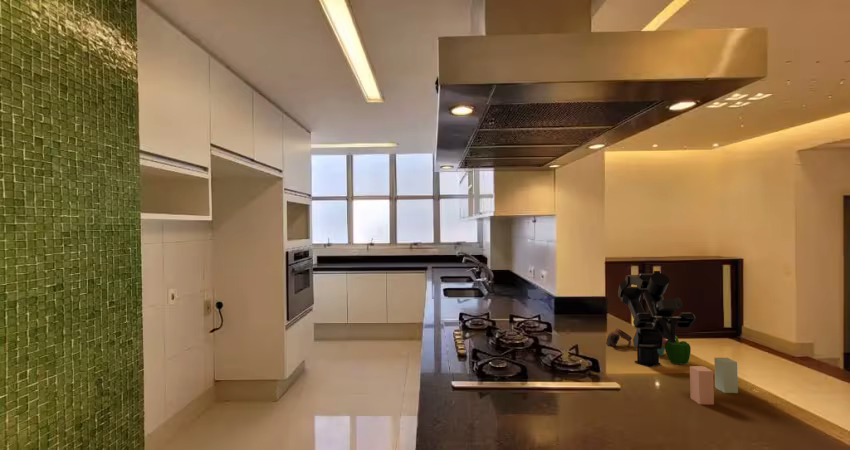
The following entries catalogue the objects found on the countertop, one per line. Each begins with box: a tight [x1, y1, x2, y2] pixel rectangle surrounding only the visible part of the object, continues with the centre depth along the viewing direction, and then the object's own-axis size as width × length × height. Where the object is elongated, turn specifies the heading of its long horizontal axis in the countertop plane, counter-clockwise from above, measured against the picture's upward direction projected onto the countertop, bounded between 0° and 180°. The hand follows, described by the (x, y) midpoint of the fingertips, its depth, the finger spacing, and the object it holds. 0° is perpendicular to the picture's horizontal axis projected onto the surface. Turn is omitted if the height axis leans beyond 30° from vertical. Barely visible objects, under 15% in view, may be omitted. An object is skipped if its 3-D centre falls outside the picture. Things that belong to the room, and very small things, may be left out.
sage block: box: [713, 357, 739, 394], centre depth 132 cm, size 4×4×10 cm
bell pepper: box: [664, 335, 692, 365], centre depth 160 cm, size 8×8×10 cm
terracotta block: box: [689, 365, 715, 405], centre depth 123 cm, size 4×4×10 cm
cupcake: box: [658, 337, 667, 356], centre depth 172 cm, size 9×8×12 cm
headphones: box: [605, 328, 633, 348], centre depth 184 cm, size 12×10×8 cm
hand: (673, 342), depth 139 cm, fingers closed
